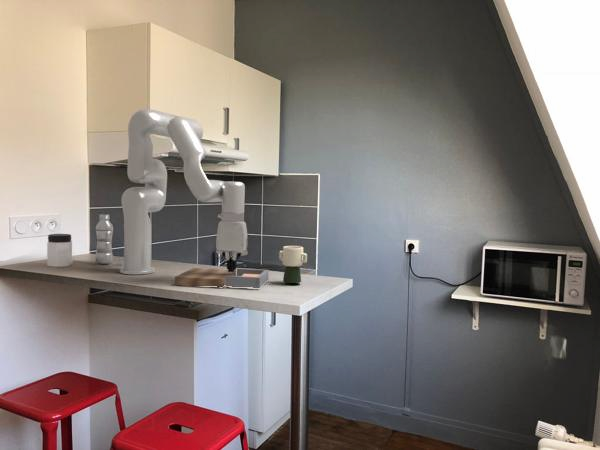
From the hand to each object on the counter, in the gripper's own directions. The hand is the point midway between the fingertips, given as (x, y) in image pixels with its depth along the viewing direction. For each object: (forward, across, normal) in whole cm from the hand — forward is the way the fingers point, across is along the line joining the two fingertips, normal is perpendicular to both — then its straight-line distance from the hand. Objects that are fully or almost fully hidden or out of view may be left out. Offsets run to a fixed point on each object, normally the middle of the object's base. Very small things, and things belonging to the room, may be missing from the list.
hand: (231, 271), depth 171 cm
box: (+4, +5, 0) cm, 7 cm away
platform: (+4, -9, 0) cm, 10 cm away
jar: (+5, -72, +16) cm, 74 cm away
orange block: (+1, +7, -1) cm, 7 cm away
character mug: (+4, +20, +5) cm, 21 cm away
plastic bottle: (+5, -58, +24) cm, 63 cm away
